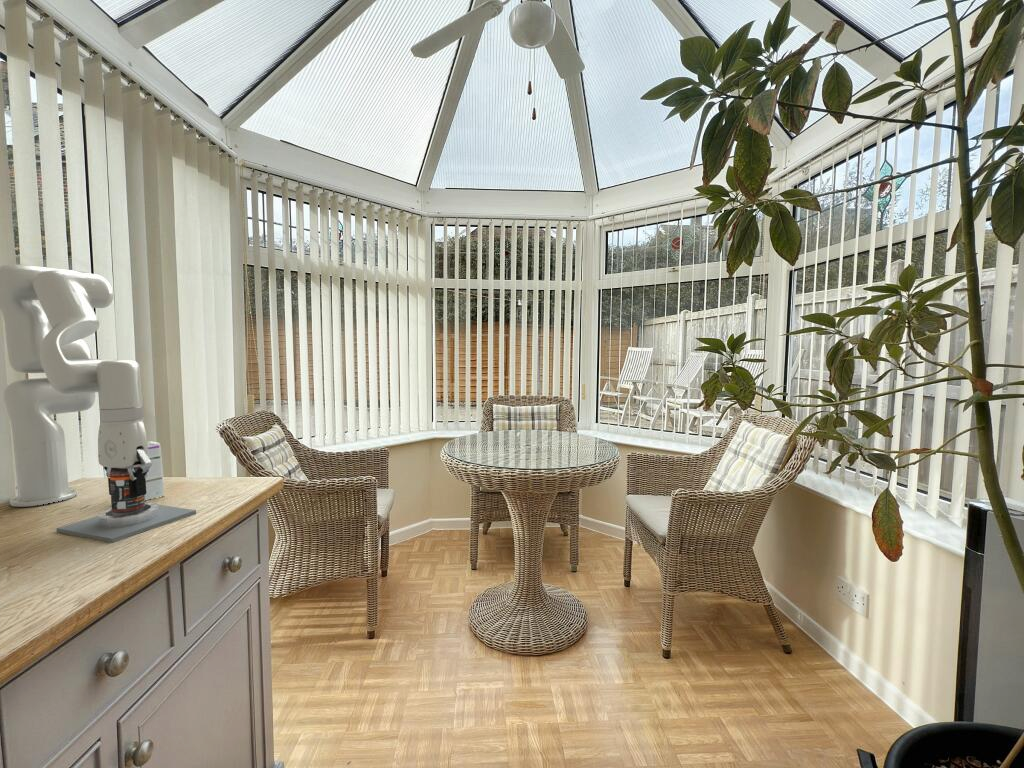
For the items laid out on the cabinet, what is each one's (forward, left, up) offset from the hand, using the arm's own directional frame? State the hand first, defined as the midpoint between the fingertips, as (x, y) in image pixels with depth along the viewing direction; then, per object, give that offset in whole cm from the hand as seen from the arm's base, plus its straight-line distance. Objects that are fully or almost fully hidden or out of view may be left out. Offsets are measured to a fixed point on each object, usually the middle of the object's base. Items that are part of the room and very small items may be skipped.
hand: (127, 494), depth 109 cm
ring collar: (0, 0, -6) cm, 6 cm away
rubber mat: (0, 0, -6) cm, 6 cm away
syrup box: (-15, +14, -7) cm, 22 cm away
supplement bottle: (0, 0, -4) cm, 4 cm away
